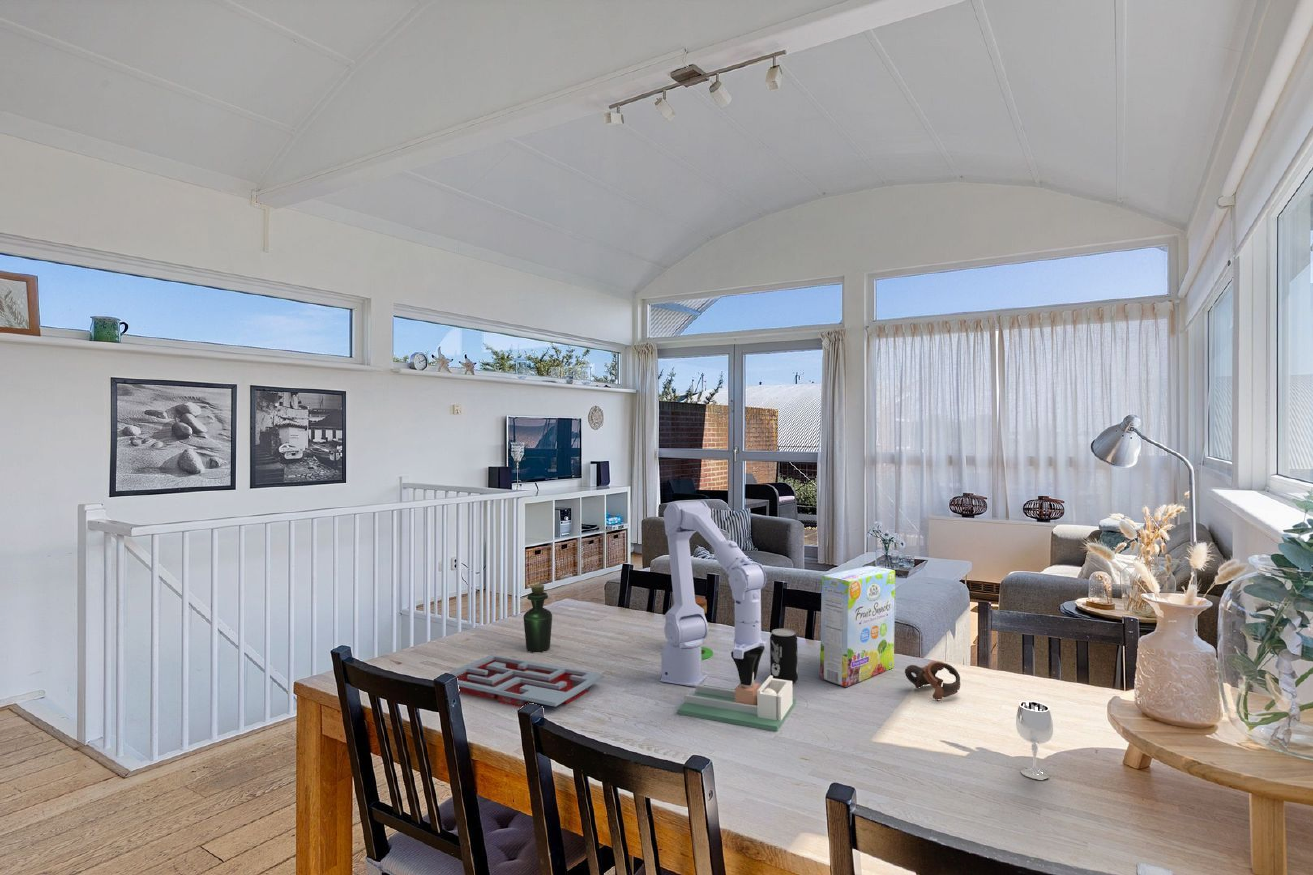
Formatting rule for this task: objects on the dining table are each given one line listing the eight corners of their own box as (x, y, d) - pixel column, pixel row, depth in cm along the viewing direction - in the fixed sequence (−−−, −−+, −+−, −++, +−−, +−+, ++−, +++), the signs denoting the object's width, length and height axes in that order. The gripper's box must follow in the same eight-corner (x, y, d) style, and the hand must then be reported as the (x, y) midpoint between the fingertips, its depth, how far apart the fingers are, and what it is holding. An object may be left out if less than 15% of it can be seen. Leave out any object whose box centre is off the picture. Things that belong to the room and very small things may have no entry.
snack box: (849, 689, 162) (848, 580, 162) (818, 680, 169) (817, 575, 169) (897, 668, 177) (896, 568, 177) (867, 660, 183) (866, 563, 183)
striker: (735, 706, 149) (734, 674, 149) (742, 698, 154) (742, 667, 154) (753, 709, 148) (752, 677, 148) (759, 701, 152) (759, 669, 152)
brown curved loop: (952, 688, 164) (963, 664, 160) (953, 719, 156) (964, 695, 152) (901, 671, 167) (910, 647, 163) (898, 701, 159) (908, 676, 155)
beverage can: (797, 686, 165) (797, 636, 165) (769, 684, 166) (769, 634, 166) (797, 676, 171) (797, 628, 171) (770, 675, 172) (770, 627, 172)
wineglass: (1009, 767, 124) (1008, 700, 124) (1039, 765, 124) (1039, 699, 124) (1029, 783, 118) (1028, 713, 118) (1061, 781, 119) (1060, 711, 119)
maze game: (436, 691, 165) (436, 677, 165) (491, 666, 182) (491, 654, 182) (555, 717, 149) (555, 702, 149) (603, 687, 166) (603, 674, 166)
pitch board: (677, 713, 149) (677, 702, 149) (703, 688, 163) (703, 678, 163) (777, 731, 140) (777, 719, 140) (795, 703, 154) (795, 692, 154)
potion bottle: (538, 643, 201) (537, 581, 201) (558, 648, 196) (558, 585, 196) (517, 650, 194) (516, 586, 194) (538, 655, 190) (537, 590, 190)
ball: (770, 689, 146) (779, 709, 145) (775, 682, 150) (784, 701, 149) (752, 695, 148) (761, 715, 147) (758, 688, 152) (766, 708, 151)
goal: (757, 716, 145) (757, 690, 145) (770, 700, 154) (770, 675, 154) (780, 720, 142) (780, 693, 142) (792, 703, 152) (792, 678, 151)
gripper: (755, 630, 142) (756, 696, 142) (774, 613, 155) (775, 673, 155) (723, 626, 145) (724, 691, 145) (744, 610, 158) (744, 669, 158)
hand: (748, 681), depth 151 cm, fingers closed on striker, 3 cm apart
